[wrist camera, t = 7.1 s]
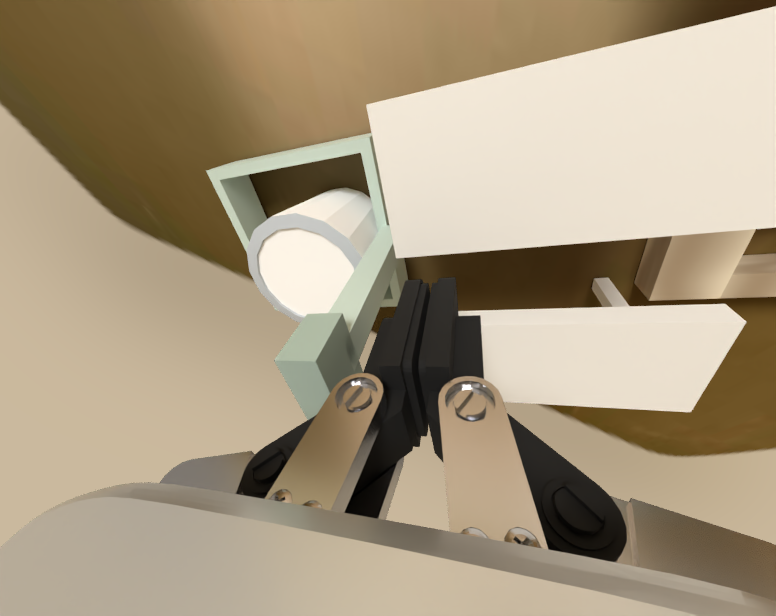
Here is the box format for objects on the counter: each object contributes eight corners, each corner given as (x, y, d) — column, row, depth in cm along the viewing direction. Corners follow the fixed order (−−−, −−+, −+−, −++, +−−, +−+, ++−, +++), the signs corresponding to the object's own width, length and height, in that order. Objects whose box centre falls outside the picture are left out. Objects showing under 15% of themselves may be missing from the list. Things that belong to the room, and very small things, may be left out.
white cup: (376, 285, 23) (347, 346, 18) (295, 247, 23) (240, 297, 17) (413, 207, 19) (391, 255, 14) (315, 157, 19) (251, 187, 13)
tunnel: (670, 35, 12) (969, -41, 5) (605, 288, 19) (690, 412, 12) (414, 96, 16) (366, 105, 8) (437, 295, 23) (423, 397, 15)
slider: (397, 127, 16) (247, 213, 5) (421, 284, 22) (373, 486, 11) (234, 161, 19) (-76, 260, 8) (291, 291, 25) (152, 453, 14)
